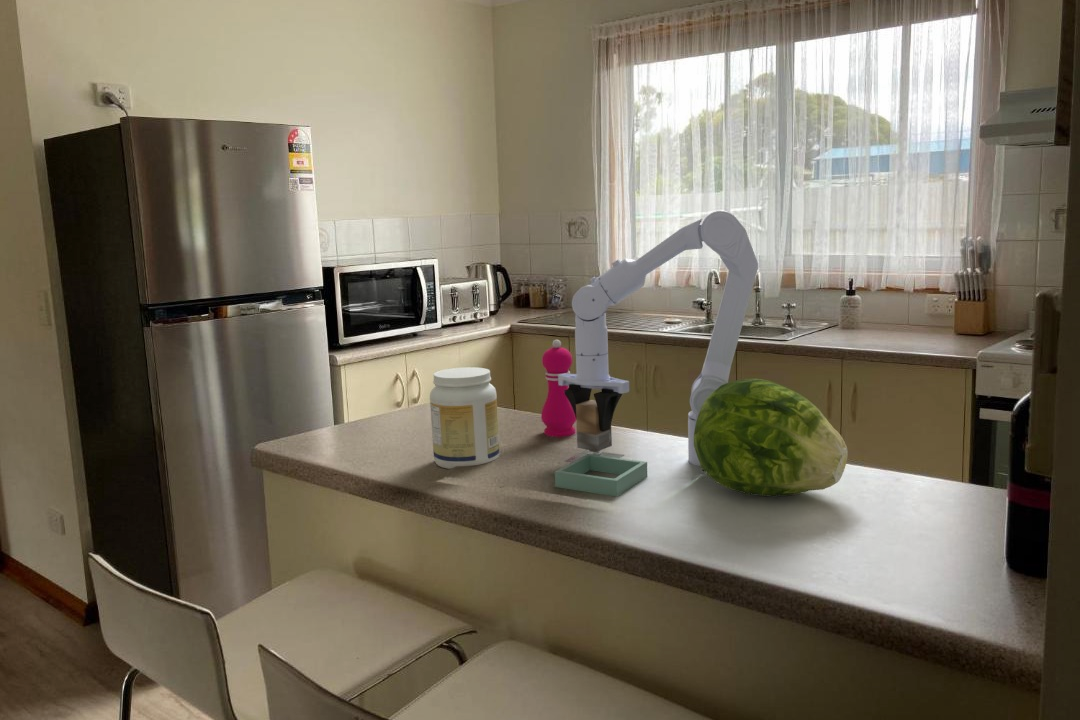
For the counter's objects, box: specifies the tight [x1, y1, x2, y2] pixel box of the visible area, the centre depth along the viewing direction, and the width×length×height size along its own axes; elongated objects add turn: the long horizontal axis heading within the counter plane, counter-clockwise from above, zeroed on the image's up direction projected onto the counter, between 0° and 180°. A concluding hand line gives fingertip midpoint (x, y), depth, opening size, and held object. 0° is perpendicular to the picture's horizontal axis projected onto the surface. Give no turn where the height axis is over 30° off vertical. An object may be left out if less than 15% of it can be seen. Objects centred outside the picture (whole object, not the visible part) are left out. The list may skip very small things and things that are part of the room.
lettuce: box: [694, 378, 849, 497], centre depth 133 cm, size 19×23×18 cm
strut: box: [576, 399, 613, 452], centre depth 153 cm, size 4×4×8 cm
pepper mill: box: [540, 339, 577, 438], centre depth 172 cm, size 7×7×20 cm
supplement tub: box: [429, 366, 500, 470], centre depth 157 cm, size 12×12×17 cm
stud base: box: [565, 449, 625, 463], centre depth 154 cm, size 8×8×3 cm
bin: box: [554, 454, 648, 497], centre depth 141 cm, size 11×11×4 cm
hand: (594, 428), depth 153 cm, fingers closed on strut, 4 cm apart
